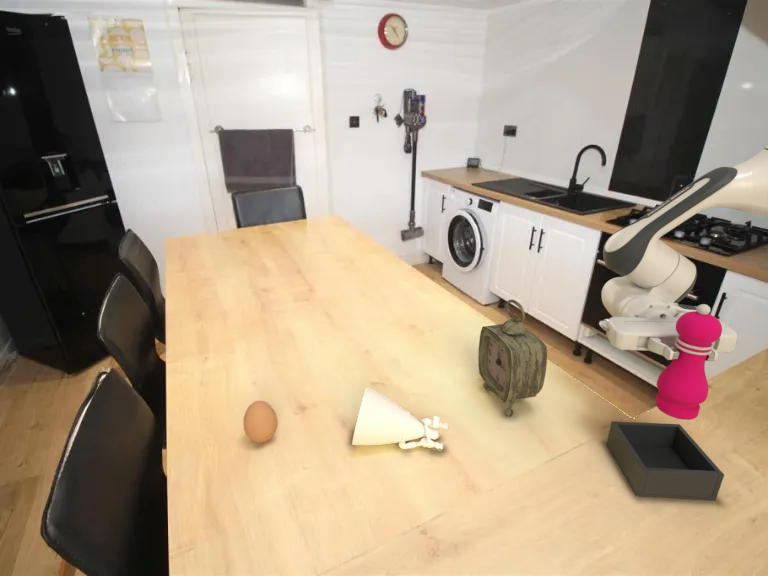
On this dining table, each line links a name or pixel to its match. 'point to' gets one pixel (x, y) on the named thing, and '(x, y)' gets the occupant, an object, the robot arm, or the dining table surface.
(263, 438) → the egg
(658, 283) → the robot arm
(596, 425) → the dining table surface
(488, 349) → the tabletop clock
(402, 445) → the rocket engine
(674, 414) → the pepper mill
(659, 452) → the bin
